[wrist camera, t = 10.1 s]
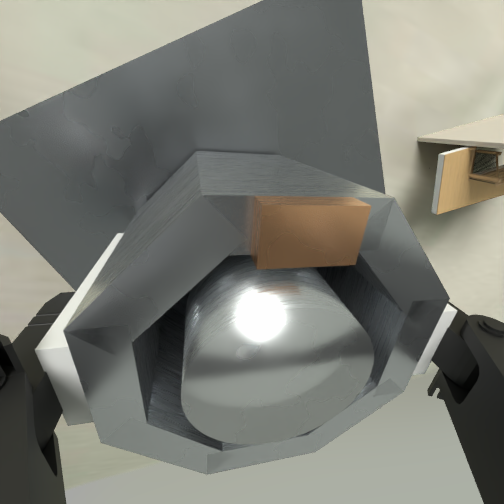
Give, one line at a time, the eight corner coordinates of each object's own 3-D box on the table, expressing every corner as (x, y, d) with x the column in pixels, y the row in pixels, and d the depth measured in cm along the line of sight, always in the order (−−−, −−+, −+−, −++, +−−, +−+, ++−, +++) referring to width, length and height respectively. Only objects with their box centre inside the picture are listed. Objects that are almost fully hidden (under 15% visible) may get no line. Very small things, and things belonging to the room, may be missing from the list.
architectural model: (484, 169, 17) (657, 198, 11) (390, 196, 17) (511, 243, 10) (497, 113, 16) (709, 107, 9) (393, 142, 15) (538, 157, 9)
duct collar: (153, 320, 15) (112, 519, 7) (130, 147, 11) (-12, 202, 3) (303, 308, 17) (391, 455, 9) (332, 157, 13) (528, 207, 5)
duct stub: (-37, 146, 11) (-950, 241, 2) (341, -27, 11) (964, -673, 2) (173, 377, 20) (154, 585, 11) (386, 283, 20) (544, 416, 11)
